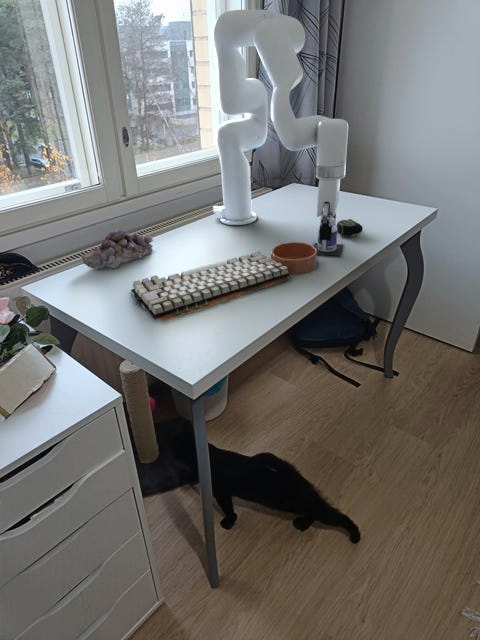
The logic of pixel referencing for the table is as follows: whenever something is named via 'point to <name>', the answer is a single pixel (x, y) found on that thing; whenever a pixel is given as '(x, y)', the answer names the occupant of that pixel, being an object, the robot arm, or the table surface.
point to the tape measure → (348, 227)
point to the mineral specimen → (118, 250)
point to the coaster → (333, 253)
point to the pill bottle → (328, 244)
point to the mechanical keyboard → (207, 285)
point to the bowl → (295, 256)
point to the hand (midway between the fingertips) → (327, 233)
